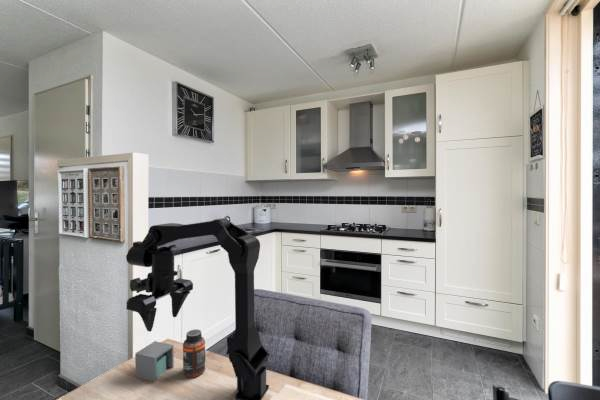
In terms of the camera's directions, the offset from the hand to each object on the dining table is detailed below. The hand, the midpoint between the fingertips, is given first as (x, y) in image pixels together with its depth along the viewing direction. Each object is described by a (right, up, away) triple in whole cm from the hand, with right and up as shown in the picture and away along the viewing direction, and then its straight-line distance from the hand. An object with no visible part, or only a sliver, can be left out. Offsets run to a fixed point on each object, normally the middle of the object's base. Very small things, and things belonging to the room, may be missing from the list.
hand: (162, 323), depth 82 cm
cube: (-2, -14, 0) cm, 14 cm away
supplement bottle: (+9, -14, 0) cm, 17 cm away
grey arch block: (-2, -14, 0) cm, 14 cm away
